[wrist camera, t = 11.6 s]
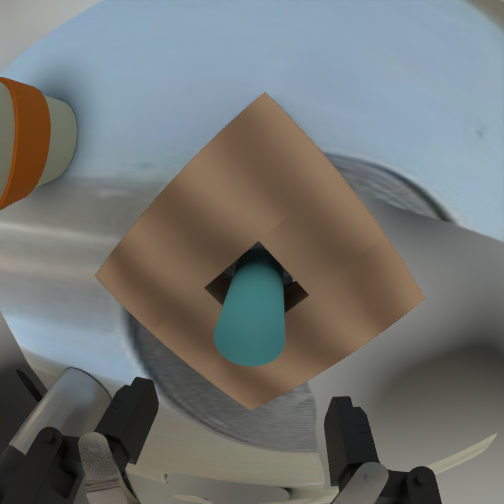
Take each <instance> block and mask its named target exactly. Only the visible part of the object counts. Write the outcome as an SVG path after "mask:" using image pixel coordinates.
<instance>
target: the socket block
mask: <svg viewBox="0 0 504 504" xmlns="http://www.w3.org/2000/svg"><path fill="white" fill-rule="evenodd" d="M258 241H259V242H260V243H261V244H262V245H263V246H264V247H265V248H266V249H267V250H268V251H269V252H270V253H271V254H272V256H273V257H274V258H275V259H276V260H277V261H278V262H279V263H280V264H281V265H282V266H283V267H284V268H285V269H286V270H287V272H288V273H289V274H290V275H291V276H292V277H293V278H294V279H295V280H296V281H295V282H293V283H292V284H291V285H289V286H288V287H287V288H285V289H284V317H285V345H284V349H283V351H282V352H281V354H280V355H279V356H278V357H277V358H276V359H275V360H273V361H272V362H270V363H268V364H265V365H262V366H254V367H250V366H242V365H238V364H235V363H233V362H231V361H229V360H228V359H226V358H225V357H224V356H223V355H222V354H221V353H220V352H219V351H218V349H217V347H216V345H215V342H214V331H215V328H216V325H217V322H218V319H219V316H220V313H221V310H222V307H223V305H224V302H225V299H226V296H227V293H228V290H229V287H230V284H231V283H230V282H229V281H228V280H227V279H226V278H225V277H224V276H223V275H222V274H221V273H222V272H223V271H224V270H225V269H227V268H228V267H229V266H230V265H231V264H232V263H234V262H235V261H236V260H237V259H238V258H239V257H241V256H242V255H243V254H244V253H245V252H246V251H248V250H249V249H250V248H251V247H252V246H253V245H255V244H256V243H257V242H258ZM95 277H96V278H97V279H98V280H99V281H100V282H101V283H102V284H103V286H104V287H105V288H106V289H107V290H108V291H109V292H110V293H111V294H112V295H113V296H114V297H115V298H116V299H117V300H118V301H119V302H120V303H121V304H122V305H123V306H124V307H125V308H126V309H127V310H128V311H129V312H130V313H131V314H132V315H133V316H134V317H135V318H136V319H137V320H138V321H139V322H140V323H141V324H142V325H143V326H145V327H146V328H147V329H148V330H149V331H150V332H151V333H152V334H153V335H154V336H155V337H157V338H158V339H159V340H160V341H161V342H162V343H163V344H165V345H166V346H167V347H168V348H169V349H170V350H171V351H173V352H174V353H175V354H176V355H177V356H179V357H180V358H181V359H182V360H183V361H185V362H186V363H187V364H188V365H189V366H191V367H192V368H193V369H194V370H196V371H197V372H198V373H199V374H201V375H202V376H203V377H205V378H206V379H207V380H208V381H210V382H211V383H212V384H214V385H215V386H216V387H218V388H219V389H220V390H222V391H223V392H225V393H226V394H227V395H229V396H230V397H232V398H233V399H234V400H236V401H237V402H239V403H240V404H241V405H243V406H244V407H246V408H247V409H249V410H252V409H254V408H256V407H258V406H260V405H262V404H264V403H266V402H268V401H270V400H272V399H274V398H276V397H278V396H280V395H282V394H284V393H286V392H288V391H290V390H291V389H293V388H295V387H297V386H299V385H300V384H302V383H304V382H306V381H308V380H309V379H311V378H313V377H314V376H316V375H318V374H320V373H321V372H323V371H325V370H326V369H328V368H329V367H331V366H332V365H334V364H336V363H337V362H339V361H341V360H342V359H344V358H345V357H346V356H348V355H350V354H351V353H353V352H354V351H356V350H357V349H359V348H360V347H362V346H363V345H365V344H366V343H368V342H369V341H370V340H372V339H373V338H374V337H376V336H377V335H379V334H380V333H382V332H383V331H384V330H386V329H387V328H388V327H390V326H391V325H392V324H394V323H395V322H396V321H398V320H399V319H400V318H401V317H402V316H404V315H405V314H406V313H408V312H409V311H410V310H411V309H413V308H414V307H415V306H416V305H418V304H419V303H420V302H421V301H422V300H424V299H425V297H424V295H423V294H422V292H421V290H420V288H419V287H418V285H417V283H416V282H415V280H414V278H413V276H412V275H411V273H410V272H409V270H408V268H407V267H406V265H405V264H404V262H403V260H402V259H401V257H400V256H399V254H398V253H397V251H396V250H395V248H394V246H393V245H392V243H391V242H390V240H389V239H388V237H387V236H386V235H385V233H384V232H383V230H382V229H381V227H380V226H379V224H378V223H377V222H376V220H375V219H374V217H373V216H372V215H371V213H370V212H369V211H368V209H367V208H366V207H365V205H364V204H363V202H362V201H361V200H360V198H359V197H358V196H357V195H356V193H355V192H354V191H353V189H352V188H351V187H350V185H349V184H348V183H347V182H346V180H345V179H344V178H343V177H342V175H341V174H340V173H339V172H338V171H337V169H336V168H335V167H334V166H333V164H332V163H331V162H330V161H329V160H328V159H327V157H326V156H325V155H324V154H323V153H322V152H321V150H320V149H319V148H318V147H317V146H316V145H315V144H314V142H313V141H312V140H311V139H310V138H309V137H308V136H307V135H306V134H305V132H304V131H303V130H302V129H301V128H300V127H299V126H298V125H297V124H296V123H295V122H294V121H293V120H292V119H291V117H290V116H289V115H288V114H287V113H286V112H285V111H284V110H283V109H282V108H281V107H280V106H279V105H278V104H277V103H276V102H275V101H274V100H273V99H272V98H271V97H270V96H269V95H268V94H267V93H266V92H264V93H263V94H262V95H261V96H260V97H258V98H257V99H256V100H255V101H254V102H253V103H251V104H250V105H249V106H248V107H247V108H246V109H245V110H243V111H242V112H241V113H240V114H239V115H238V116H237V117H236V118H234V119H233V120H232V121H231V122H230V123H229V124H228V125H227V126H226V127H225V128H224V129H223V130H222V131H220V132H219V133H218V134H217V135H216V136H215V137H214V138H213V139H212V140H211V141H210V142H209V143H208V144H207V145H206V146H205V147H204V148H203V149H202V150H201V151H200V152H199V153H198V154H197V155H196V156H195V157H194V158H193V159H192V160H191V161H190V162H189V163H188V164H187V165H186V166H185V167H184V168H183V169H182V170H181V172H180V173H179V174H178V175H177V176H176V177H175V178H174V179H173V180H172V181H171V182H170V183H169V184H168V186H167V187H166V188H165V189H164V190H163V191H162V192H161V193H160V194H159V196H158V197H157V198H156V199H155V200H154V201H153V202H152V204H151V205H150V206H149V207H148V208H147V209H146V211H145V212H144V213H143V214H142V215H141V216H140V218H139V219H138V220H137V221H136V222H135V224H134V225H133V226H132V227H131V229H130V230H129V231H128V232H127V234H126V235H125V236H124V237H123V239H122V240H121V241H120V242H119V244H118V245H117V246H116V248H115V249H114V250H113V251H112V253H111V254H110V255H109V257H108V258H107V259H106V261H105V262H104V263H103V265H102V266H101V268H100V269H99V270H98V272H97V273H96V274H95Z"/></svg>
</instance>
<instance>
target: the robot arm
mask: <svg viewBox="0 0 504 504" xmlns="http://www.w3.org/2000/svg"><path fill="white" fill-rule="evenodd" d="M158 406H159V402H158V398H157V394H156V390H155V386H154V382H153V381H152V380H150V379H145V378H141V377H136V378H135V379H134V381H133V382H132V384H131V386H128V385H124V386H123V387H122V388H121V389H119V390H118V391H117V392H116V394H115V396H114V397H113V400H112V401H111V398H110V396H109V394H108V393H107V392H106V390H105V389H104V388H103V387H102V386H101V385H100V384H99V383H98V382H97V381H96V380H95V379H93V378H92V377H91V376H89V375H88V374H86V373H84V372H82V371H80V370H78V369H74V368H68V369H66V370H65V371H64V372H63V374H62V375H61V376H60V377H59V378H58V380H57V381H56V382H55V383H54V385H53V386H52V387H51V388H50V389H49V391H48V392H47V393H46V395H45V396H44V397H43V398H42V400H41V401H40V402H39V404H38V405H37V406H36V408H35V409H34V410H33V412H32V413H31V414H30V416H29V417H28V418H27V420H26V421H25V422H24V424H23V425H22V427H21V428H20V429H19V431H18V432H17V434H16V435H15V437H14V438H13V439H12V441H11V442H10V444H9V445H8V447H7V448H6V450H5V452H4V453H3V454H2V456H1V458H0V504H73V502H74V499H75V496H76V494H77V491H78V489H79V486H80V484H81V481H82V479H83V476H85V477H86V480H87V485H86V486H85V490H86V494H87V498H88V500H89V504H141V502H140V501H139V499H138V497H137V494H136V492H135V490H134V488H133V485H132V483H131V481H130V479H129V476H128V473H127V471H126V469H125V468H126V466H127V463H131V464H135V465H136V463H137V460H138V458H139V455H140V453H141V450H142V448H143V445H144V443H145V440H146V438H147V436H148V433H149V431H150V428H151V426H152V424H153V421H154V419H155V416H156V414H157V411H158ZM324 430H325V438H326V446H327V453H328V463H329V472H330V481H331V486H339V493H338V494H337V496H336V497H335V498H334V499H333V501H332V502H331V503H330V504H442V502H441V498H440V494H439V489H438V486H437V482H436V478H435V474H434V472H433V471H432V470H431V469H429V468H427V467H424V466H420V467H416V468H414V469H412V470H411V471H410V472H400V471H391V470H388V469H386V467H385V466H383V465H382V464H380V462H379V460H378V456H377V452H376V448H375V444H374V440H373V437H372V433H371V429H370V426H369V422H368V418H367V415H366V414H365V412H364V411H363V410H362V409H361V407H353V405H352V402H351V398H350V397H349V396H345V397H344V396H343V397H333V398H332V399H331V402H330V405H329V408H328V411H327V413H326V416H325V422H324Z"/></svg>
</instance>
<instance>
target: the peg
mask: <svg viewBox="0 0 504 504" xmlns="http://www.w3.org/2000/svg"><path fill="white" fill-rule="evenodd" d="M214 342H215V345H216V347H217V349H218V351H219V352H220V353H221V354H222V355H223V356H224V357H225V358H226V359H228V360H229V361H231V362H233V363H235V364H238V365H242V366H250V367H254V366H262V365H265V364H268V363H270V362H272V361H273V360H275V359H276V358H277V357H278V356H279V355H280V354H281V352H282V351H283V349H284V345H285V317H284V288H283V268H282V265H281V264H280V263H279V262H278V261H277V260H276V259H275V258H274V257H273V256H272V254H271V253H270V252H269V251H268V250H265V249H253V250H250V251H248V252H246V253H245V254H244V255H243V256H242V257H241V258H240V260H239V262H238V264H237V267H236V270H235V273H234V276H233V278H232V281H231V284H230V287H229V290H228V293H227V296H226V299H225V302H224V305H223V307H222V310H221V313H220V316H219V319H218V322H217V325H216V328H215V331H214Z"/></svg>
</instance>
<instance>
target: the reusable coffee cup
mask: <svg viewBox="0 0 504 504" xmlns="http://www.w3.org/2000/svg"><path fill="white" fill-rule="evenodd" d="M77 131H78V129H77V121H76V118H75V114H74V112H73V110H72V108H71V107H70V106H69V105H68V104H67V103H65V102H64V101H61V100H58V99H55V98H52V97H49V96H46V95H43V94H42V93H41V91H40V90H38V89H37V88H35V87H33V86H30V85H27V84H23V83H20V82H17V81H14V80H11V79H7V78H3V77H0V210H2V209H3V208H5V207H7V206H9V205H11V204H13V203H15V202H17V201H19V200H21V199H23V198H25V197H27V196H28V195H29V194H30V193H31V192H32V191H33V189H34V188H36V187H38V186H41V185H43V184H45V183H48V182H50V181H52V180H54V179H57V178H58V177H59V176H61V175H62V174H63V173H64V172H65V170H66V169H67V168H68V166H69V164H70V163H71V160H72V158H73V156H74V152H75V149H76V143H77Z"/></svg>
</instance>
